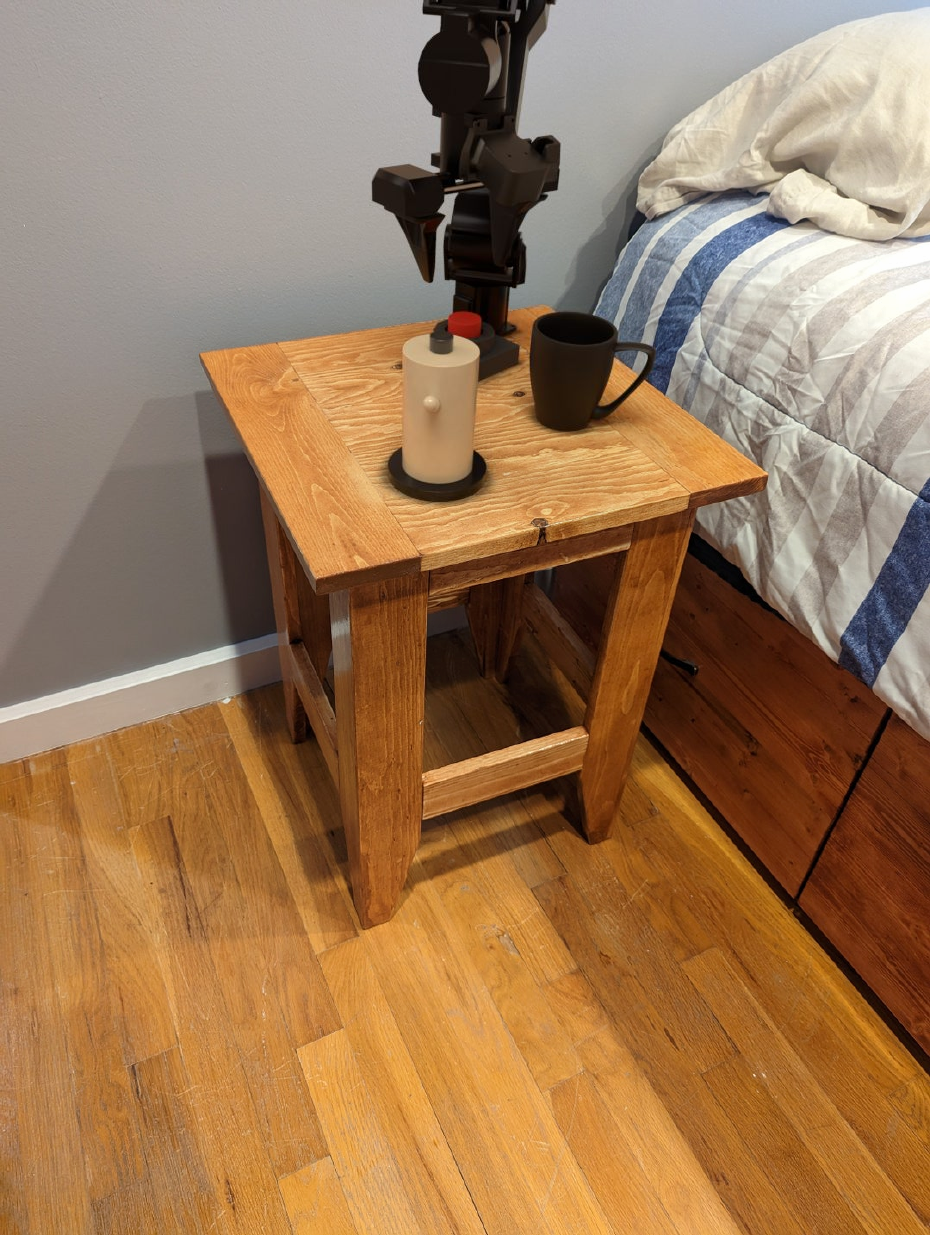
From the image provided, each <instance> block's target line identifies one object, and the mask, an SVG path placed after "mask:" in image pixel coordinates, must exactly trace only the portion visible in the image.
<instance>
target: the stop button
mask: <svg viewBox="0 0 930 1235" xmlns="http://www.w3.org/2000/svg"><path fill="white" fill-rule="evenodd" d="M447 319H448V332H450V333H452V334H453V335H456V336H460V337H463V338H475V337H477V336H480V334H481V317H480V316H479V315H477V314H475V313H472V312H455V313H453V312H452V313H450V314H449V315H448V317H447Z"/></svg>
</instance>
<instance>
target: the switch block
mask: <svg viewBox="0 0 930 1235" xmlns="http://www.w3.org/2000/svg"><path fill="white" fill-rule="evenodd" d="M435 331H447V332H448V318H447V319H443V320H441V321H439V322H437V323H436V325H435V326H434V327H433V331H432V332H435ZM466 339H468V340H470V341H472V342H473V343H475V344H476V345H477V346H478V348H479V350H480V358H479V373H478V382H480V381H482V380H485V379H487V378H488V377H491V376H493V375H495V374H498V373H500V372H502V371H504V370H507V369H509V368H511V367H513V366H515V365H517V364H519V360H520V348H521V345H520V344H519V343H516V342H514V341H512V340H509V339H507V338H504V337H503V336H502V337H500V336H498V335H495V331H494V329H493V328H492V327H491V325H489V324H487V323H485V322H482V321H481V334H480V336H477V337H475V338H466Z"/></svg>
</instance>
